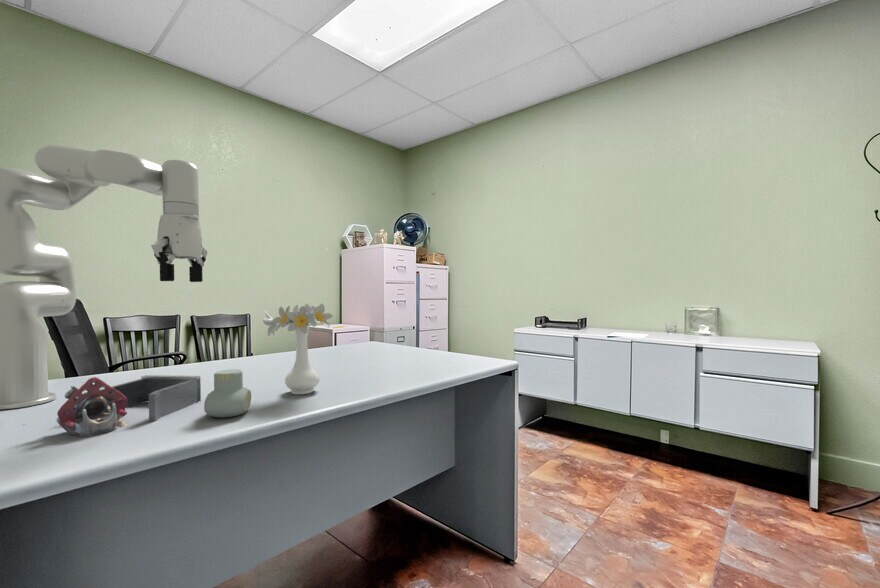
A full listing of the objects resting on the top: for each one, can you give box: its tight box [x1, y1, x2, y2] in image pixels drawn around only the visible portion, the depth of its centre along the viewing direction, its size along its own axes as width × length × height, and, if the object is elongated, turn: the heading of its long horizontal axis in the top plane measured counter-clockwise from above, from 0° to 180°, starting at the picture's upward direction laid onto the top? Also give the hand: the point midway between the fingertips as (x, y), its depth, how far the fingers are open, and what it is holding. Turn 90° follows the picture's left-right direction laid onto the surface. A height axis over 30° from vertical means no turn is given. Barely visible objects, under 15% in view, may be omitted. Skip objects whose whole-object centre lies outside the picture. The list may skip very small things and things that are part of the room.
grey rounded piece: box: [203, 368, 252, 419], centre depth 93 cm, size 11×8×10 cm
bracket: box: [83, 374, 202, 422], centre depth 97 cm, size 17×16×7 cm
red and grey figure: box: [56, 376, 128, 438], centre depth 84 cm, size 11×11×12 cm
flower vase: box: [262, 303, 334, 396], centre depth 112 cm, size 13×18×25 cm
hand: (182, 281), depth 99 cm, fingers open, 9 cm apart
